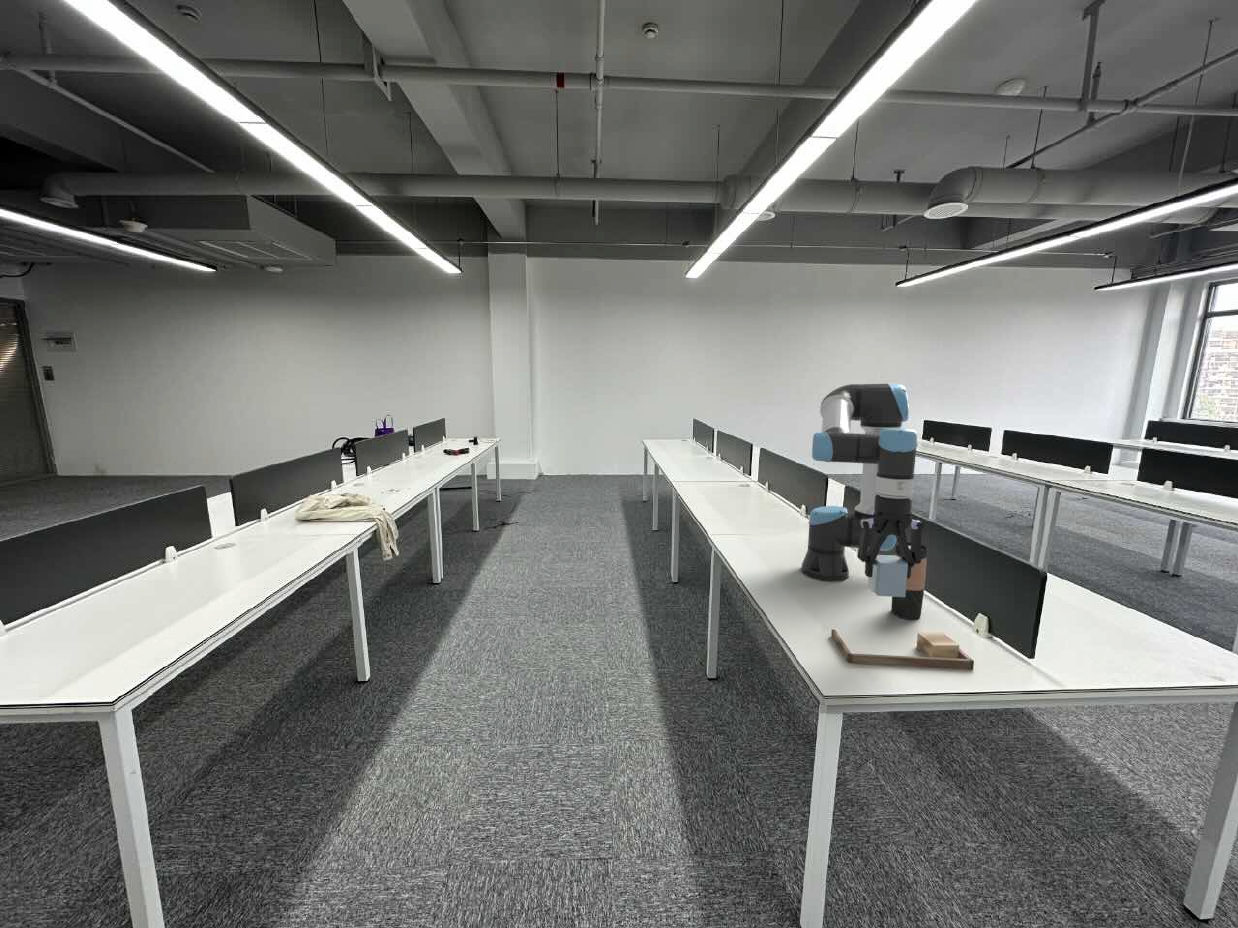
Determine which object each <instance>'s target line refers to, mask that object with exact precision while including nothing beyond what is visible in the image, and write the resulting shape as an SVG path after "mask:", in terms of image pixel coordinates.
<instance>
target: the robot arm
mask: <svg viewBox="0 0 1238 928" xmlns="http://www.w3.org/2000/svg"><path fill="white" fill-rule="evenodd" d="M819 407H820V409H819V413H820V416H821V417H822V425H821V432H816V433H814V434H813V435H812V448H811V457H812V459H813V460H814V461H816V462H824V463H847V464H849V463H850V464H851V463H853V464H862V469H861V470H862V473H861V487H860V501H859V503H858V504H857V505H856V506H854V511H853V512H849V511H848V508H846V507H844V506H838V505H827V506H826V505H825V506H819V507H815V508H814V509H812V510H811V511H810V514H809V519H808V525H809V526H808V539H807V540H808V542H807V551H806V553H805V556H804V558H803V559H802V562H801V568H800V569H801V570H800V571H801V573H802V574H803V575H804V576H806V577H809V578H810V579H811V578H812V579H814V580H818V581H823V582H842V581H845V580H847V579H848V578H849V575H850V570H849V565H848V562H847V559H846V555H845V549H846V548H854V549H857V554H856V555H857V556H856V557H857V559H858V560H860V561H861V562H862V563H864V574H865V576H866V577H867V579H868V580H867V589H868V590H869V591H870V592H872V593H874V592H875V590H876V577H877V565H876V564H875V563H874V562H875V560H876V557H877V555H879V553H880V551H882V552H883V551H885V552H888V551H891V550H893V548H894V547H895V546H896V542H897V545H898V546H899V549H900V553H901V557H902V560H903V561H905V562H906V563H907V564H908V570H907V578H908V579H910V577H911V567H913V566H914V564H916V563H917V564H919V563H921V545H922V532H923V530H924V528H925V523H924V522H922V521H920V520H918V519H916V520H915V519H912V517H911V513H912V505H913V504H912V503H913V499H912V497H911V496H912V495H914V494H913V493H914V483H915V482H914V480H915V478H914V477H915V465H916V458H917V457H916V455H917V448H918V433H917V431H916V430H915V429H912V428H902V426H903V423H904V422H908V421H909V399H908V393H907V389H906V387H905V386H904V385H902V384H900V383H890V382H888V383H858V384H856V383H851V384H845V385H843V386H839V387H837V388H835V389H833V390H832V391H830V392H829V393H828V394H827V395H825V397H824V398H823V399H822V401H821V402H820V406H819ZM851 421H857V422H858V421H860V425H859V426H860V428H861V429H862V430H863V431H864V433H854V432H853V433H852V424H851V423H852V422H851ZM909 527H910V543H911V555H910V551H909V547H908V543H907V542H908V541H907V538H908V536H907V532H906V530H907V529H908V528H909Z"/></svg>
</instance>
